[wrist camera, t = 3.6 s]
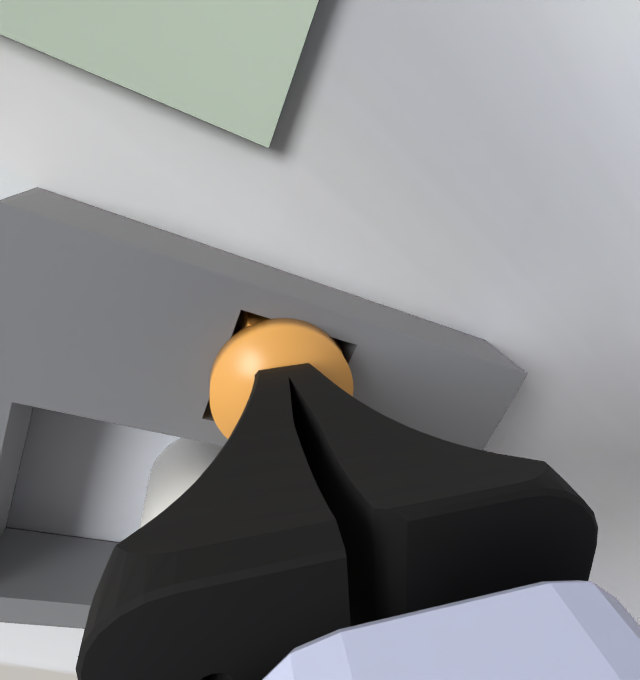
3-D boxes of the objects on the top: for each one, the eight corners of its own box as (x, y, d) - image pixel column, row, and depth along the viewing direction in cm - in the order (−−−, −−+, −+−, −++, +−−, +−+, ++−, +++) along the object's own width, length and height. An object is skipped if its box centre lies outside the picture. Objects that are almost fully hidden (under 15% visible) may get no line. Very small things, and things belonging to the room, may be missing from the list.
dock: (484, 340, 17) (527, 373, 14) (348, 592, 20) (365, 649, 18) (37, 187, 12) (-4, 200, 10) (-35, 546, 16) (-75, 616, 14)
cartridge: (296, 443, 17) (347, 633, 10) (254, 539, 18) (277, 758, 12) (169, 415, 15) (138, 615, 9) (133, 521, 17) (85, 758, 10)
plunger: (347, 314, 15) (375, 353, 12) (304, 413, 16) (322, 468, 13) (232, 276, 13) (237, 311, 11) (194, 386, 15) (190, 440, 12)
